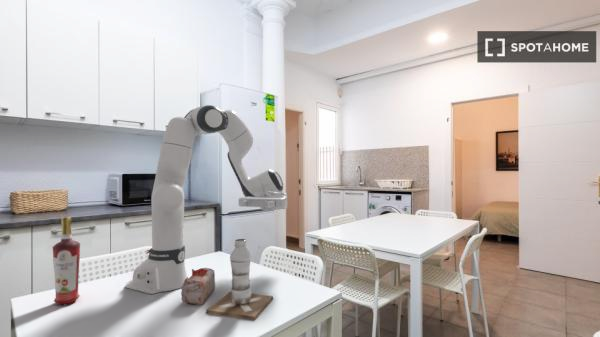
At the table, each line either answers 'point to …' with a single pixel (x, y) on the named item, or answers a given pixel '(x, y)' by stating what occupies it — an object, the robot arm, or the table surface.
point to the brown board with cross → (240, 307)
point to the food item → (198, 286)
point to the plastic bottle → (240, 273)
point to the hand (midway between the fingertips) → (255, 204)
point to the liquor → (66, 265)
